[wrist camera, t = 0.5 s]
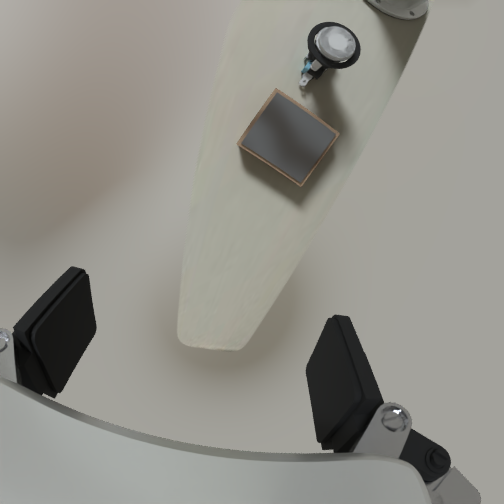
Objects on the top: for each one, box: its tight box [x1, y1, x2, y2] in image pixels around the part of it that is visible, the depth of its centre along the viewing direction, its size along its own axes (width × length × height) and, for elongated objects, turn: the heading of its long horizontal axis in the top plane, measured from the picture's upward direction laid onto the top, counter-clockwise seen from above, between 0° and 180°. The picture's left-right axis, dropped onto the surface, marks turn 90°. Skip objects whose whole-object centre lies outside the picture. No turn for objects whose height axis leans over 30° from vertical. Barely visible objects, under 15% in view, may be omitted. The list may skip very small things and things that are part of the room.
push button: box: [299, 22, 360, 87], centre depth 24 cm, size 7×5×10 cm
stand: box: [237, 88, 340, 187], centre depth 31 cm, size 8×9×4 cm
